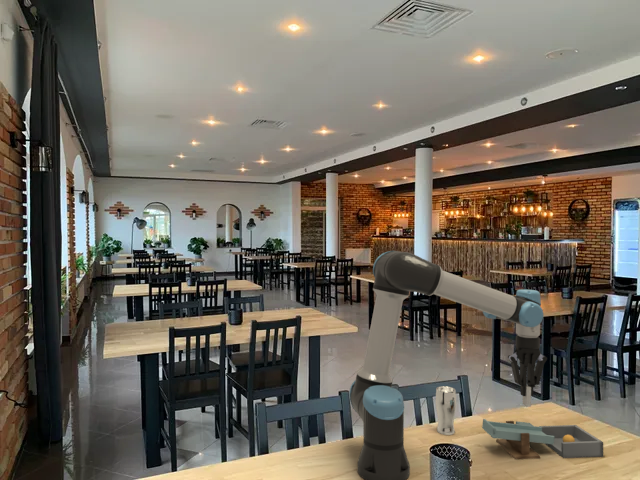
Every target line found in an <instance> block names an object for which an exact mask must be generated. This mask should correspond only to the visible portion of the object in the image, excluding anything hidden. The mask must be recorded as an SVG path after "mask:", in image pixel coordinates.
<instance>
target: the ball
mask: <svg viewBox="0 0 640 480" xmlns="http://www.w3.org/2000/svg"><path fill="white" fill-rule="evenodd" d="M563 442H575V439H574V438H573V437H572V436H571V435H565V436H564V437H563Z"/></svg>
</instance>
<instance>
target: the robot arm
mask: <svg viewBox="0 0 640 480" xmlns="http://www.w3.org/2000/svg"><path fill="white" fill-rule="evenodd" d="M372 267H373V268H372V274H373V277H374V282H373V287H372V291H373V292H374V293H375V303H374V307H373V313H372V318H371V322H370V323H371V324H370V328H369V333H368V338H367V343H366V344H367V345H366V349H365V356H364V359H363V364H362V368H361V369H359V370H358V371H357V372H356V377H355V380H353V382H352V384H351V385H350V388H349V391H348V397H349V401H350V404H351V408H352V409H353V410H354V412H355V413H356V414H357V415H358V416H359V418H360V419H361V421H362V423H363V435H362V436H363V443H362V447H361V451H360V453H359V456H358V460H357V473H358V475H359V476H360V477H361V478H362V479H364V480H408V479H409V477H410V475H411V471H410V470H411V466H410V461H409V458H408V454H407V452H406V449H405V445H404V442H405V441H404V436H405V435H404V433H405V430H404V429H405V428H404V427H405V425H404V424H405V423H404V415H405V414H404V413H405V402H404V396H403V394H402V393H401V392H400V390H398V389H396V388H394V387H393V382H394V381H393V378H392V377H391V375H390V371H391V367H392V366H391V365H392V359H393V355H394V351H395V345H396V339H397V334H398V328H399V322H400V319H401V312H402V306H403V301H404V300H405V299H407V298H408V297H409V296H410V292H414V293H418V294H422V295H425V296H429V297H430V296H432V295H435V296H438V297H441V298H444V299H446V300H450V301H452V302H456V303H458V304H462V305H464V306H467V307H469V308H472V309H476V310H478V311H481V312H482V314H483V316H484V317H485V318H487V319H492V320H496V319H498V320H504V321H507V322H510V323H514V324H515V334H516V335H515V350H514V353H513V354H511V355H507V358H508V361H509V362H510V365H511V370H512V374H513V379H514V382H515V384H517V385H518V386H520V388H519V389H520V392H519V393H520V395H521V396H522V405H523V406H524V407H528V408H531V407H532V406H531V405H532V397H533V396H534V388H536V386H538V385H540V382H541V378H542V374H543V370H544V366H545V364H546V362H547V361H548V357H547V356H546V355H543V354H542V353H541V351H540V348H541V338H540V337H539V336H540V335H541V323H542V321H543V319H544V311H543V308H542V307H541V306H542V302H541V301H542V299H541V293H540V292H539V291H538V290H536V289H535V290H534V289H518V290H516V293H515V295H512V294H508V293H505V292H503V291H501V290H498V289H495V288H492V287H489V286H487V285H484V284H481V283H478V282H475V281H474V280H470V279H467V278H464V277H463V276H462V277H461V276H460V275H459V276H458V275H456V274H455V273H454V274H453V273H451V272H447V271H445V270H443V268H442V266H440V265H439V264H436V263H433V262H431V261H429V260H426V259H425V258H422V257H420V256H419V255H416V254H413V253H412V252H409V251H399V250H390V251H386V252H382V253H381V254H380V255H379V256H378V257H377V258H376V259H375V261H374V263H373V265H372ZM517 361H519V364H518V362H517ZM519 365H520V366H519Z"/></svg>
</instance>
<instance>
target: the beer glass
mask: <svg viewBox="0 0 640 480" xmlns="http://www.w3.org/2000/svg"><path fill="white" fill-rule="evenodd" d="M435 389H436V391H435V408H436V415H437V427H436V432H437V433H439V434H441V435H444V436H453V435H454V434H455V433H456V432H455V426H454V425H455V424H454V419H455V414H456V409H457V392H456V389H455V388H454V387H451V386H445V385H444V386H443V385H442V386H437V387H436V388H435Z"/></svg>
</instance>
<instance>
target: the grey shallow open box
mask: <svg viewBox="0 0 640 480" xmlns="http://www.w3.org/2000/svg"><path fill="white" fill-rule="evenodd" d="M538 427H542V432H543V433H545V434H546V435H550V436H554V444H545V443H543V444H544V445H545V446H546V447H548V448H549V449H551V450H552V451H554V452H555V453H556V454H557V455H559V456H560V457H561V458H563V459H576V458H579V459H580V458H600V457H601V458H602V457H604V441H603V440H600V439H599V438H597V437H596V436H594V435H593V434H591V433H589V432H588V431H586V430H585V429H584V428H581V427H580V426H579V425H577V424H563V425H559V424H558V425H557V424H556V425H539V426H538ZM565 435H571V436H572V437H573V438H574V439H575V442H563V437H564V436H565Z"/></svg>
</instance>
